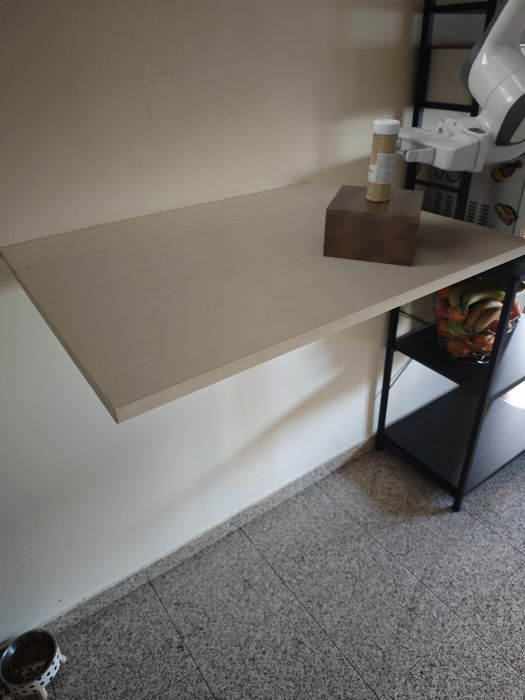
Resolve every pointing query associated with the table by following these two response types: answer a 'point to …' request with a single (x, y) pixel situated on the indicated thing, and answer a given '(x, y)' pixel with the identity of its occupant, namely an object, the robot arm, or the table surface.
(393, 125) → the sprinkles bottle
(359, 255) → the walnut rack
